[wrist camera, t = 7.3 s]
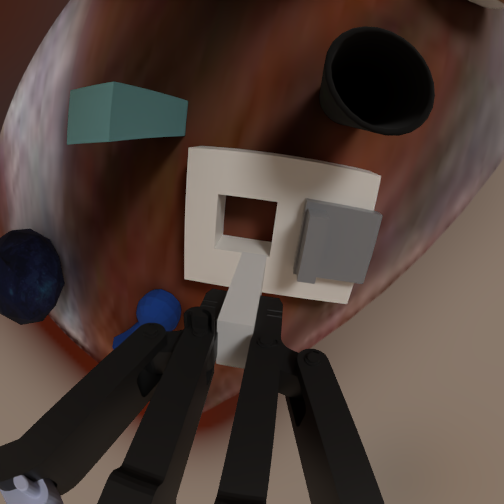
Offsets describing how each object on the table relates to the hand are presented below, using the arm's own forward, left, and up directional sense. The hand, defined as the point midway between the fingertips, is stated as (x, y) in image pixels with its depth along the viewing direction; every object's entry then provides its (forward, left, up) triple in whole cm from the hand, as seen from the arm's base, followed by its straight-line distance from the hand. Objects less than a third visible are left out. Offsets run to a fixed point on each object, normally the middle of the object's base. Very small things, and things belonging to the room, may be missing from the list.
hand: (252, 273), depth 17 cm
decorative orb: (+12, -35, -14) cm, 39 cm away
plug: (-9, -12, -14) cm, 21 cm away
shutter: (+1, +7, -10) cm, 12 cm away
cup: (-13, +6, -14) cm, 21 cm away
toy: (+19, -15, -14) cm, 28 cm away
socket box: (+1, +1, -14) cm, 14 cm away
